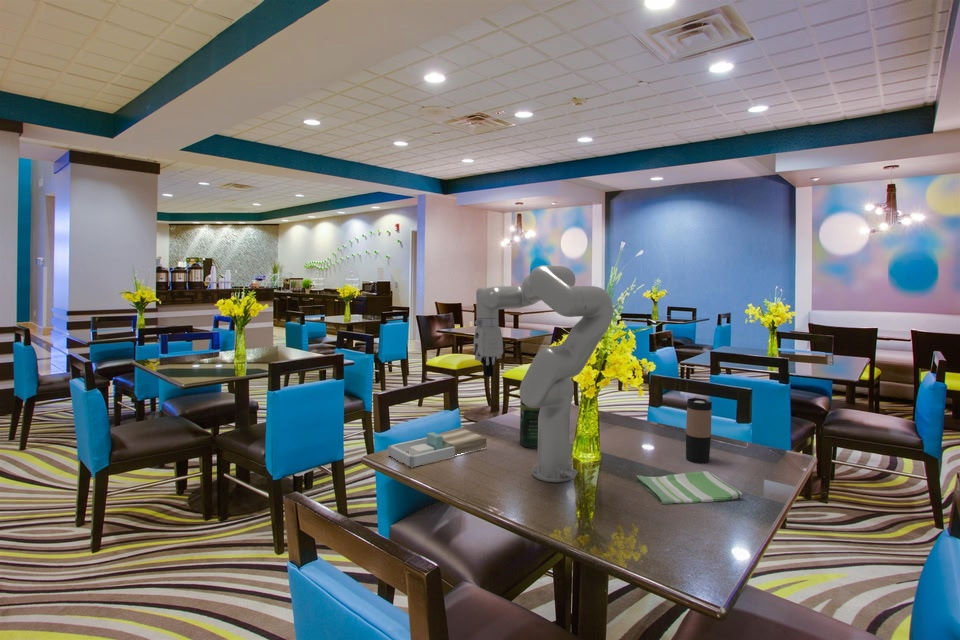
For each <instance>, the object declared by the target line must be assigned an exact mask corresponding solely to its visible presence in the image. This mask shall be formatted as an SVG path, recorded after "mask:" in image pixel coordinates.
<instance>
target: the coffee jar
mask: <svg viewBox="0 0 960 640" xmlns="http://www.w3.org/2000/svg"><path fill="white" fill-rule="evenodd" d="M519 407H520V412H519V413H520V415H519V418H520V419H519V421H520V422H519V442H520V445H521V446H523V447H525V448H530V447H531V448H530V449H536V448H538V416H539V411H540V408H541V407H540V408H530V407H527V406H526V405H525V404H524V403H523V402H522V401H521V398H520V405H519Z"/></svg>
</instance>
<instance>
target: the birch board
mask: <svg viewBox="0 0 960 640" xmlns="http://www.w3.org/2000/svg"><path fill="white" fill-rule="evenodd" d="M439 435H441V436H443V448H448V447H452V446H454V447H455V455H457V454H461V453H465V452H469V451H473V450H478V449H481V448H485V447H487V440H488V439H487V437H486V436H483V435H481V434H478V433H476V432H472V431H469V430H467V429H465V428H461V429H456V430H451V431H447V432H446V431H445V432H441V433H439Z"/></svg>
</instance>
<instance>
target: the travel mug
mask: <svg viewBox="0 0 960 640" xmlns="http://www.w3.org/2000/svg"><path fill="white" fill-rule="evenodd" d="M712 402H713V401H708V400H707V399H705V398H700V397H698V398H695V397H693V398H688V399H687V402H686V403H687V404H686V421H685V423H686V424H685V425H686V426H685V459H686V461H688V462H690V463H693V464H701V465H702V463H704V464H708V463H709V461H710V456H711V455H710V454H711V440H712V414H713V413H712V412H713V410H712V408H713V407H712V405H713V403H712Z"/></svg>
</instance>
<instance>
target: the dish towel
mask: <svg viewBox="0 0 960 640" xmlns="http://www.w3.org/2000/svg"><path fill="white" fill-rule="evenodd" d="M636 478H638V479H637V481H638V482H639V484H641V485H642V486H643V487H644V488H645V489H646V490H647V491H649V492H650V493H651V494H652V495H653V496H654V498H655V499H656V500H657V501H659V503H660V504H661V505H671V504H672V505H673V503H678V504H698V503H700V502H701V503H716V502H717V503H719V502H728V501H732V500H736V499H740V498H741V497H742V496H743V492H742V491H740V490H738V489H736V488H734V487H733V486H732V485H730V484H728V483H726V482H725V481H723V480H722V479H721V478H719V477H718V476H716V475H715V474H713V473H712V472H711V471H707V470H704V471H695V472H694V471H693V472H683V473H678V474H667V475H663V476H644V475H636ZM727 500H728V501H727ZM718 501H719V502H718ZM661 502H662V503H661Z"/></svg>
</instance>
